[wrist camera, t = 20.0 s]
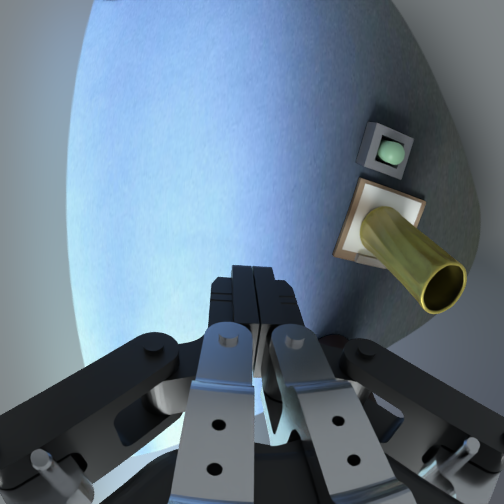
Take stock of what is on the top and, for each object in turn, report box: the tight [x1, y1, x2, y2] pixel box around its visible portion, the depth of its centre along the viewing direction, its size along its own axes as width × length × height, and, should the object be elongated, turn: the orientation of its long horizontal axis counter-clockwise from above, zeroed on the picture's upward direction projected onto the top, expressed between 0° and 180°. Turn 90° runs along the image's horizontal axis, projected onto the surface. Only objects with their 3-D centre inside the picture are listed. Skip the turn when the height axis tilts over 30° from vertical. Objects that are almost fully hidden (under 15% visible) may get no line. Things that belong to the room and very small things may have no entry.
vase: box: [360, 206, 467, 314], centre depth 30 cm, size 6×6×14 cm
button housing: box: [356, 122, 414, 180], centre depth 32 cm, size 5×5×2 cm
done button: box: [376, 139, 405, 165], centre depth 31 cm, size 2×2×3 cm
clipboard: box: [332, 177, 426, 269], centre depth 36 cm, size 10×10×1 cm
